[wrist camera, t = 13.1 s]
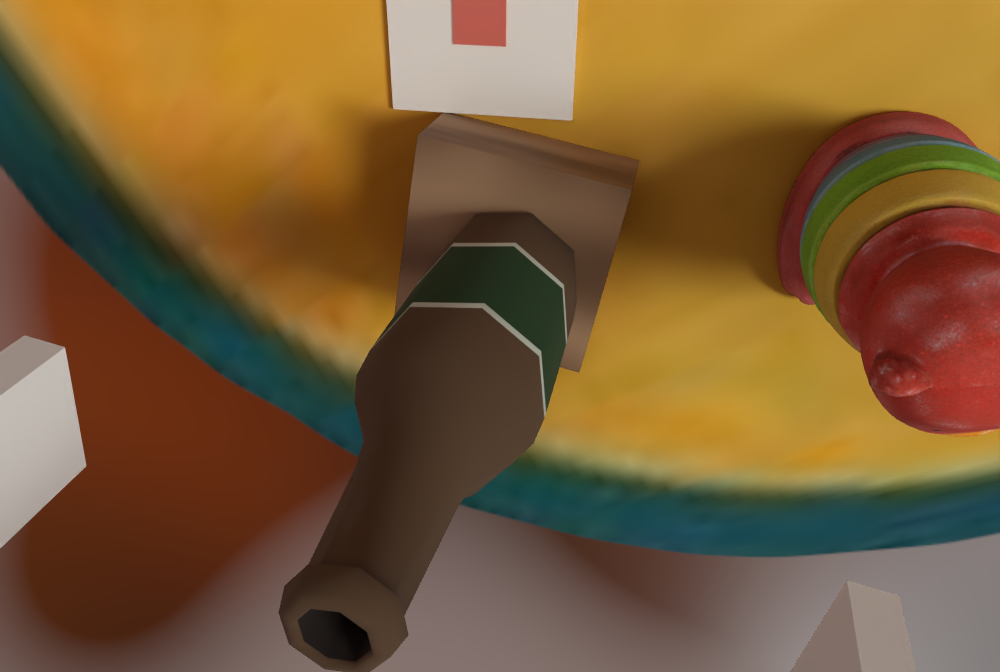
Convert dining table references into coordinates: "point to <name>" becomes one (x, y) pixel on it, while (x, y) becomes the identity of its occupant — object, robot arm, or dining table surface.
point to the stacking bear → (905, 264)
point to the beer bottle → (434, 429)
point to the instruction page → (484, 56)
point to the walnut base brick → (517, 202)
